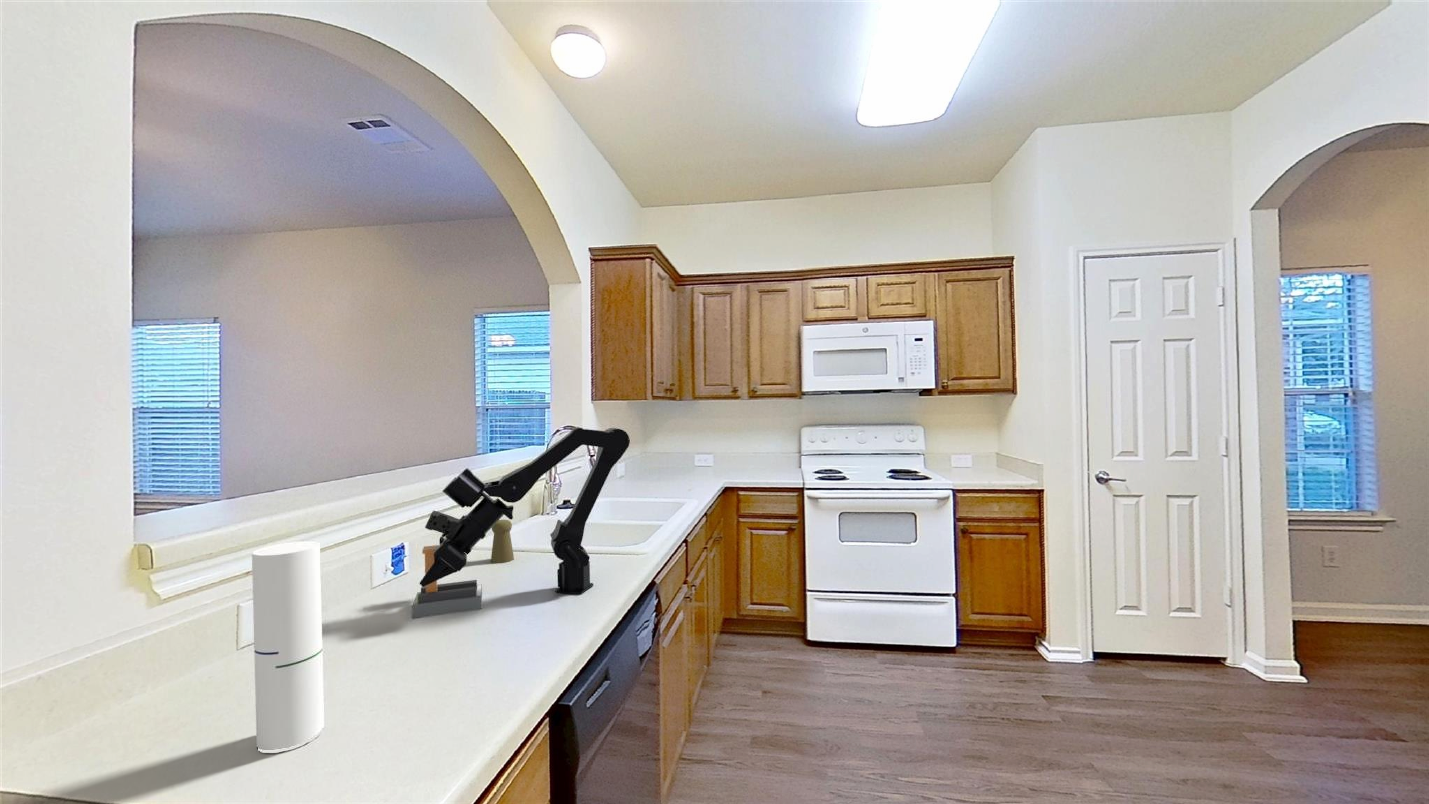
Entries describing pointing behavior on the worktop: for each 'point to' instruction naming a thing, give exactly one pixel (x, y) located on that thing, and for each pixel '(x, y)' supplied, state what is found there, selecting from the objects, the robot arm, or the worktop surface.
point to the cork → (502, 542)
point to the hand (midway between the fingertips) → (423, 578)
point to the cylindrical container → (287, 644)
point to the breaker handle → (428, 563)
